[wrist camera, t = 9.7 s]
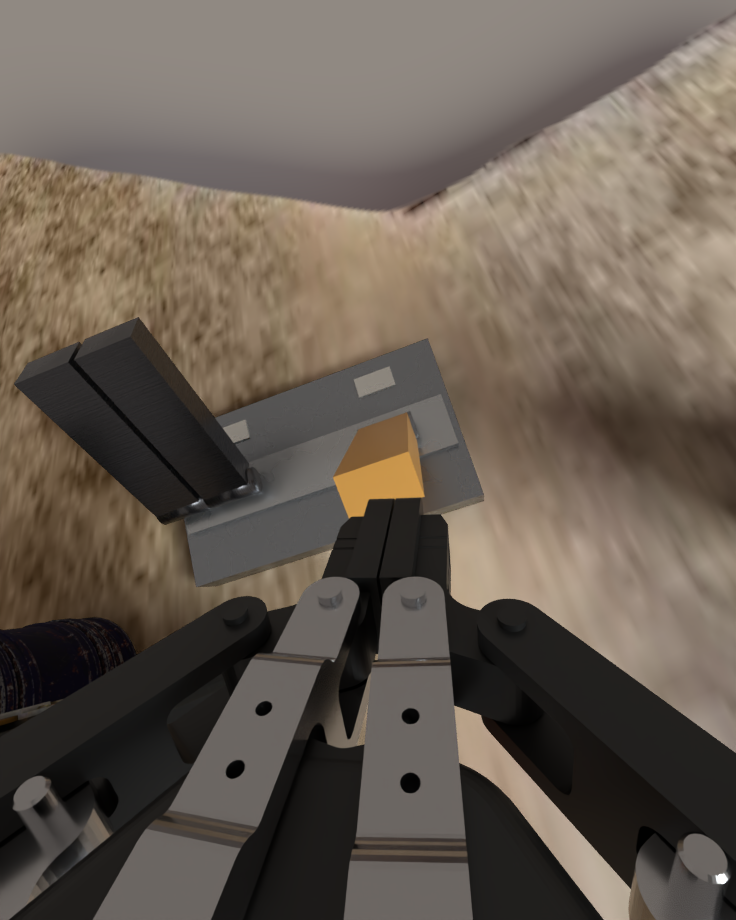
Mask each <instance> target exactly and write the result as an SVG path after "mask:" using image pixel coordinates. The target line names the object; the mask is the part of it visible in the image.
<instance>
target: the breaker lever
mask: <svg viewBox="0 0 736 920" xmlns="http://www.w3.org/2000/svg"><path fill="white" fill-rule="evenodd" d="M416 438H419V435H418V431H417V428H416V425H415V422H414V420H413V417H412V414H411V412H410V411H409V412H406V413H403V414H400V415H397V416H394V417H392V418H389V419H386V420H383V421H380V422H377V423H375V424H372V425H369V426H366V427H363V428H360V429H358V430H357V433H356V435H355V437H354V439H353V441H352V442H351V444H350V446H349V448H348V450H347V452H346V454H345V456H344V457H343V459H342V461H341V463H340V465H339V467H338V469H337V470H336V472H335V474H334V476H333V479H334V482H335V484H336V487H337V489H338V492H339V494H340V497H341V499H342V502H343V505H344V507H345V510H346V512H347V515H348V517H349V518H350V517H357V516H364V513H365V510H366V507H367V503H368V500H369V499H389V498H394V499H396V498H417V497H421V498H422V497H425V496H424V488H423V481H422V473H421V466H420V458H419V451H418V443H417V439H416Z"/></svg>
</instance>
